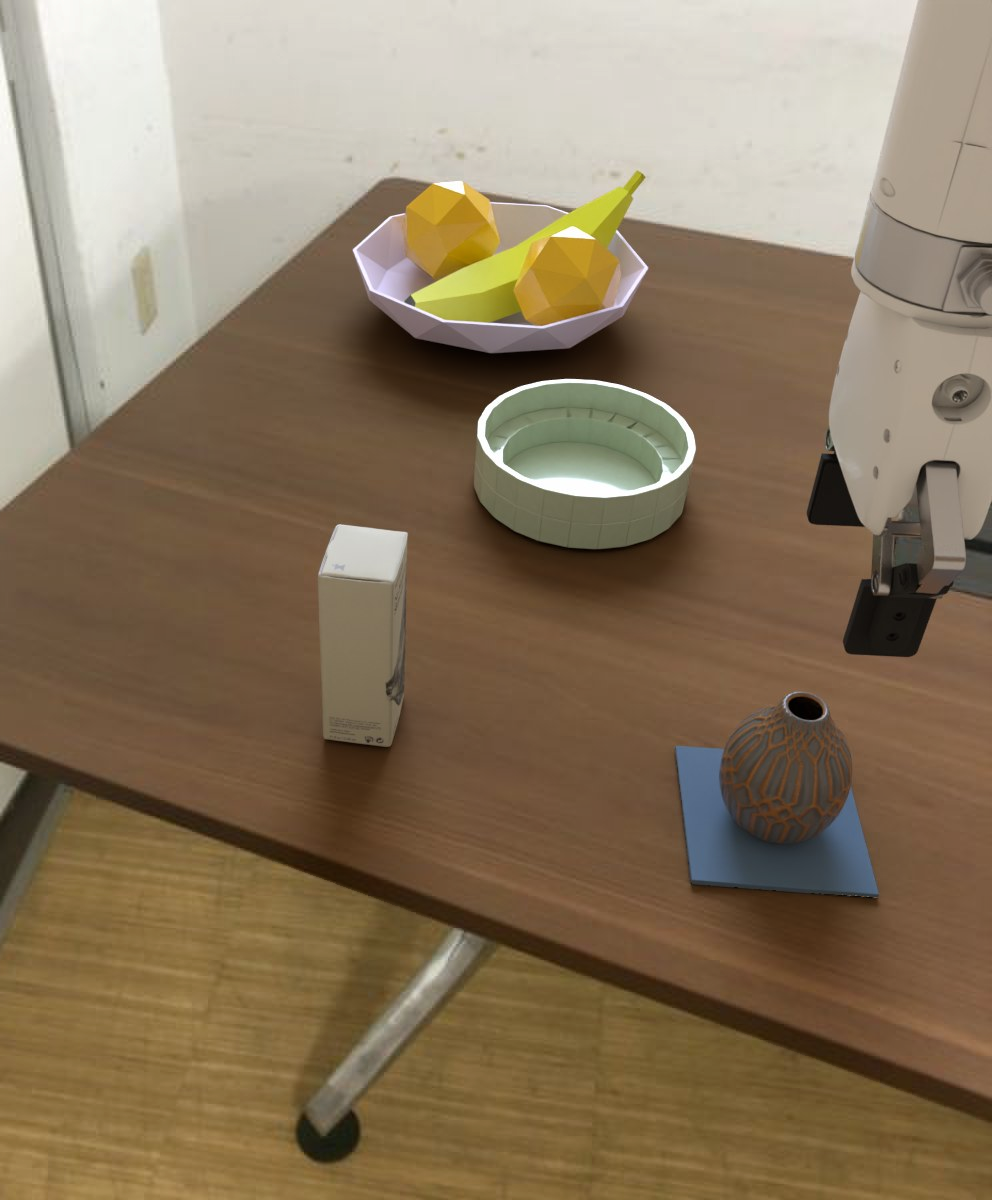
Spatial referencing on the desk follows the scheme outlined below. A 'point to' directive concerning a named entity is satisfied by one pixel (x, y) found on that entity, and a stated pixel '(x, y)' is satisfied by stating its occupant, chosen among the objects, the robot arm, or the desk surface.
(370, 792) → the desk surface
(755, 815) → the vase
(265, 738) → the desk surface
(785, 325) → the desk surface
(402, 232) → the fruit bowl
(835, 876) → the mat
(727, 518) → the desk surface
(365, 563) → the box
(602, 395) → the bowl
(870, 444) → the robot arm
